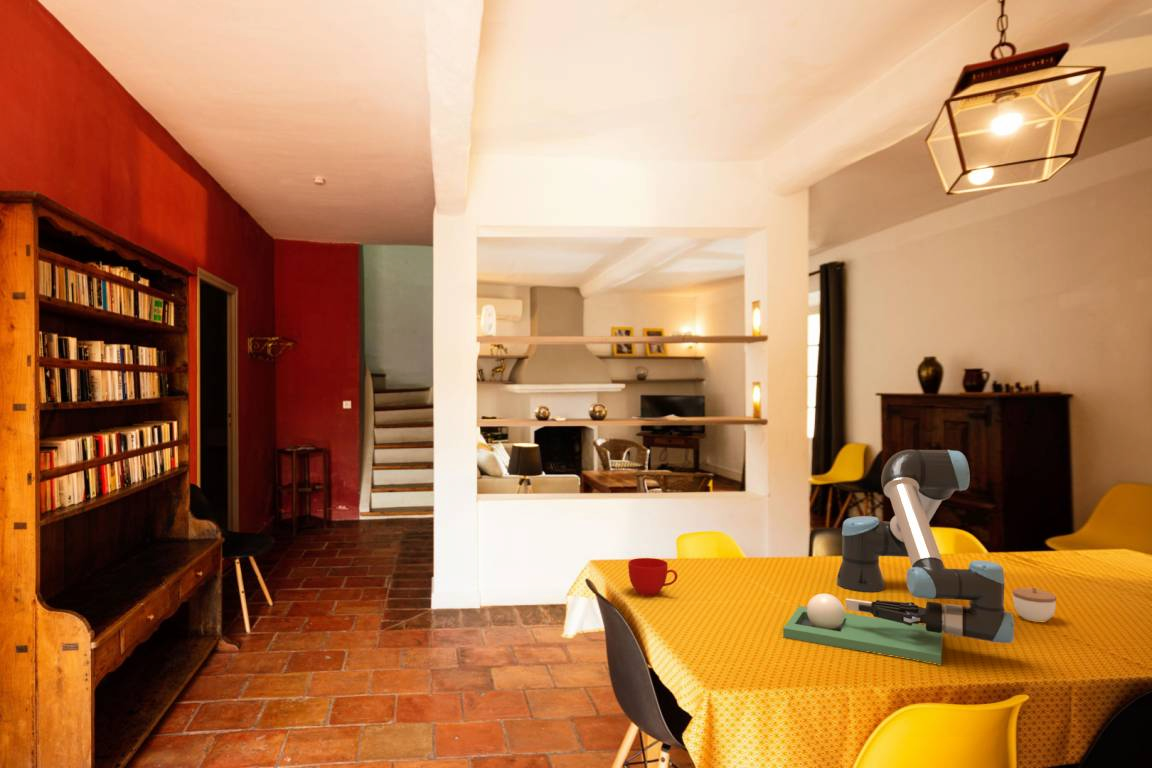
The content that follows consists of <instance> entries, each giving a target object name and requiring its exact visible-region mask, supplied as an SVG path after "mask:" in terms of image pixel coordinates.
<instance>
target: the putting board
mask: <svg viewBox="0 0 1152 768" xmlns="http://www.w3.org/2000/svg"><path fill="white" fill-rule="evenodd" d="M943 634H944V631H942V633H941V632H940V633H936V632H930V631H927V630H926V624H920V623H918V624H913V623H912V626H909V625H906V624H903V623H900V622H895V621H891V620H886V619H882V618H877V617H874V616H868V615H860V614H853V613H848V612H845V618H844V621H843V623H842V625H841V626H840V627H839V628H837V629H835V630H828V629H822V628H816V627H815V626H814V625H813V624H812V623H811V622H810V620H809V618H808V615H807V606H803V605H799V606H798V607H797V608H796V610H795V611H794V612H793V614H792V615H791V617H790V618H789V620H788V621H787V623H786V624H785V625H784V626H783V629H782V636H783V638H785V639H791V640H797V641H802V642H806V643H807V642H808V643H811V644H812V643H813V644H819V645H823V646H828V647H835V648H840V649H847V650H851V649H852V651H857V650H861V651H860V652H862V651H869V652H875V653H881V654H886V655H893V656H898V657H904V658H909V659H915V660H919V661H926V662H931V663H936V664H941V665H942V658H941V657H942V655H943V641H942V640H943V638H944V637H943V636H944V635H943Z"/></svg>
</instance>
